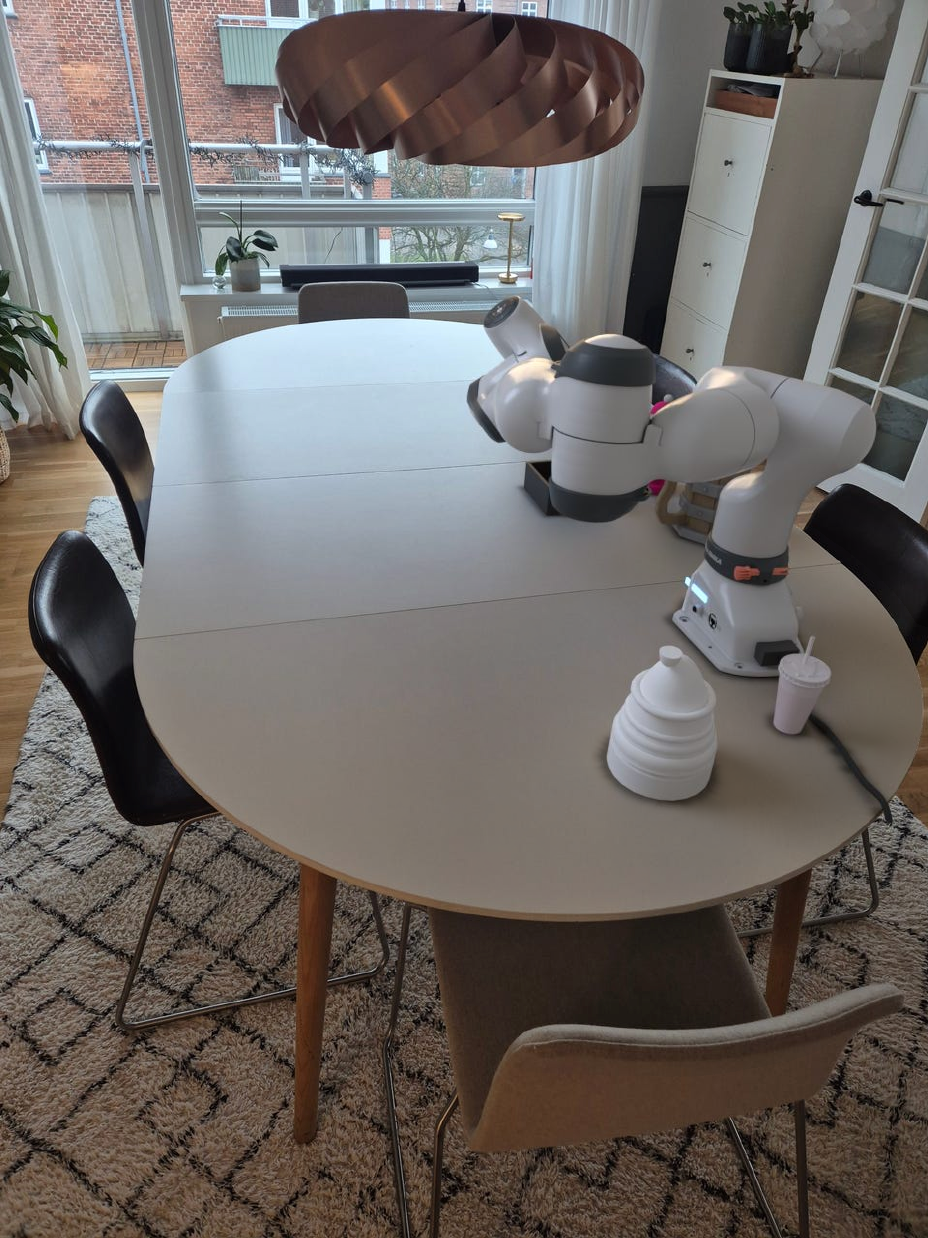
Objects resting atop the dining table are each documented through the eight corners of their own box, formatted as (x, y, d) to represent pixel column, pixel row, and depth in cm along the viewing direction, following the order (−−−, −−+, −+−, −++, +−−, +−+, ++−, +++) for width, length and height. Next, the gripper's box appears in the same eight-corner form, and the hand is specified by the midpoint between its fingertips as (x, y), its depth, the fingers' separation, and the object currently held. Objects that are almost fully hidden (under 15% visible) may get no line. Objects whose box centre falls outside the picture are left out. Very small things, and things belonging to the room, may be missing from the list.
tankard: (724, 513, 171) (740, 441, 163) (751, 543, 161) (770, 468, 153) (627, 517, 168) (639, 444, 160) (649, 548, 158) (662, 471, 150)
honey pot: (660, 816, 102) (687, 694, 92) (585, 754, 110) (603, 637, 100) (731, 773, 108) (764, 656, 98) (656, 718, 117) (678, 605, 107)
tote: (604, 509, 171) (608, 482, 168) (546, 515, 168) (549, 487, 165) (579, 482, 181) (582, 456, 178) (523, 488, 178) (525, 461, 175)
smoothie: (802, 710, 119) (829, 625, 112) (820, 741, 114) (849, 654, 106) (756, 710, 119) (780, 625, 111) (772, 741, 114) (798, 654, 106)
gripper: (502, 368, 157) (540, 412, 167) (574, 402, 143) (611, 447, 153) (523, 340, 157) (560, 386, 166) (598, 371, 142) (633, 419, 152)
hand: (585, 415), depth 159 cm, fingers closed on candle, 5 cm apart
